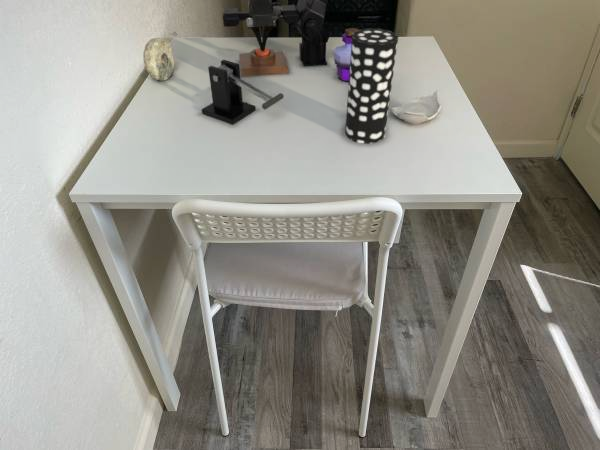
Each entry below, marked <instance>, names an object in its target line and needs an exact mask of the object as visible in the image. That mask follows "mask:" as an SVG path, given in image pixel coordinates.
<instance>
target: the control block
mask: <svg viewBox="0 0 600 450" xmlns="http://www.w3.org/2000/svg"><path fill="white" fill-rule="evenodd" d="M266 48H267V47H266ZM256 49H257V48H254V49H252V50H251V51H250V52H248V53H238V54H239V55H238V56H239V66H240V73H241V77H243V78H245V77H257V76H258V77H259V76H273V75H287V74H289V65H288V62H287V58H286V56H285V52H284V50H281V51H279V50H278V51H275V50H273V49H271V48H267V49H269V55H266V56H259V55H256Z"/></svg>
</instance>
